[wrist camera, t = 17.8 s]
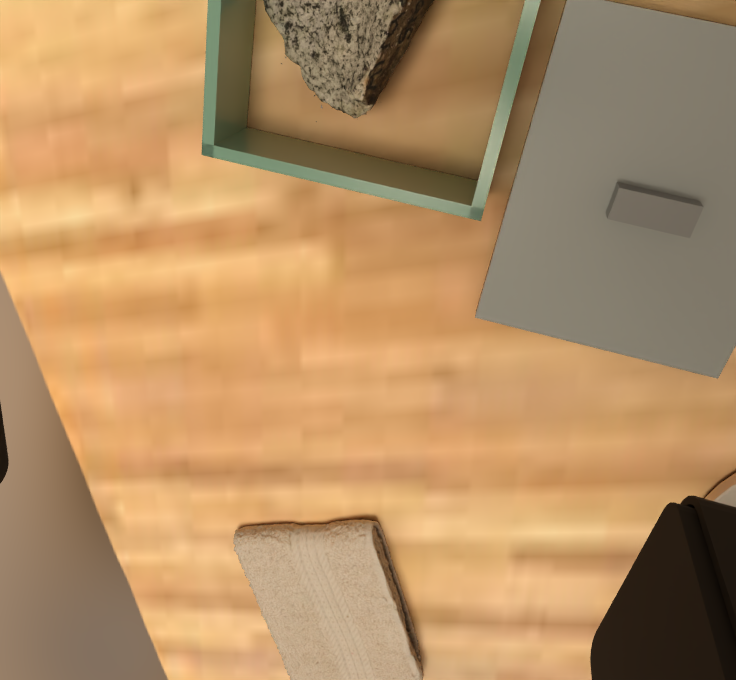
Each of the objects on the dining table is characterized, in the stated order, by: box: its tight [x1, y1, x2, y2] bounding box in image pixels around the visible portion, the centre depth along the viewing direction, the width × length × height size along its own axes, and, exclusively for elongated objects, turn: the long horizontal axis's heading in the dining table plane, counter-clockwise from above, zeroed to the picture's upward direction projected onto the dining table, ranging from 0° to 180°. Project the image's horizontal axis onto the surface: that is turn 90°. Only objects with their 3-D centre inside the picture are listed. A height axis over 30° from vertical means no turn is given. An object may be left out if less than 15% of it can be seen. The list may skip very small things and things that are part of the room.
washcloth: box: [234, 519, 423, 680], centre depth 52 cm, size 12×18×3 cm, turn 15°
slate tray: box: [475, 0, 736, 379], centre depth 28 cm, size 14×34×2 cm, turn 170°
